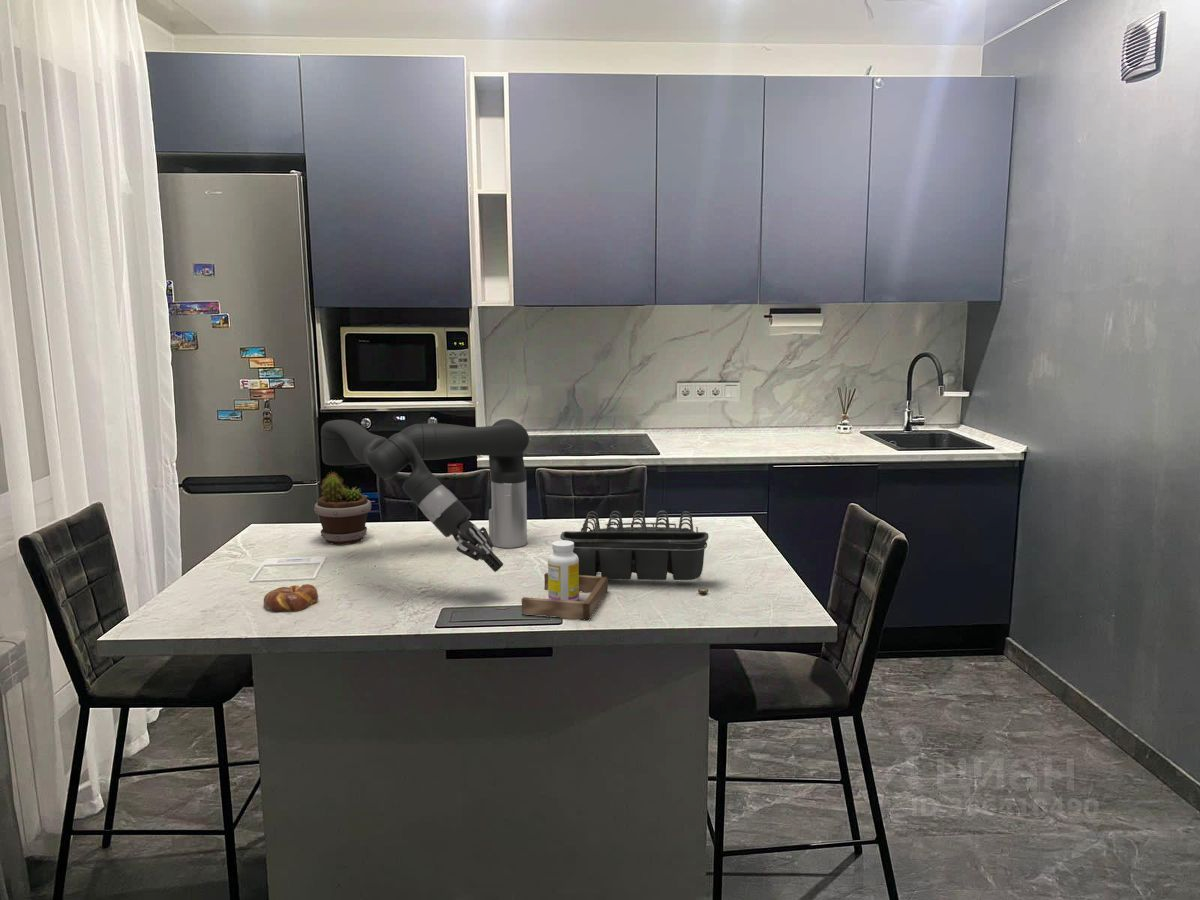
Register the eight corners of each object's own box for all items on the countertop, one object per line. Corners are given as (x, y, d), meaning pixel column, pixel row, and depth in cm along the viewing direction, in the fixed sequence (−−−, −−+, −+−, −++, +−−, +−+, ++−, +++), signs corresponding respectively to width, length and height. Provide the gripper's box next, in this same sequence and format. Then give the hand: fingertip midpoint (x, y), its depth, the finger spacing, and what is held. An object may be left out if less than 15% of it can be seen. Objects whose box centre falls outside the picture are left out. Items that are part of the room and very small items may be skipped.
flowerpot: (347, 530, 251) (344, 460, 248) (384, 539, 242) (381, 466, 239) (304, 541, 240) (300, 468, 236) (340, 550, 231) (337, 475, 227)
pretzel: (297, 593, 199) (296, 577, 198) (331, 601, 193) (331, 585, 192) (251, 607, 188) (250, 591, 188) (286, 617, 183) (285, 599, 182)
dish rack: (557, 587, 203) (557, 535, 201) (580, 536, 246) (580, 494, 244) (707, 592, 199) (709, 539, 198) (704, 540, 243) (705, 496, 241)
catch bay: (521, 615, 184) (521, 598, 183) (546, 587, 201) (545, 572, 201) (588, 620, 181) (588, 604, 180) (607, 592, 198) (607, 576, 198)
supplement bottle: (578, 595, 196) (578, 538, 194) (579, 605, 190) (579, 547, 188) (548, 595, 196) (548, 538, 194) (547, 605, 190) (547, 547, 187)
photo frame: (326, 555, 224) (314, 577, 207) (326, 559, 224) (315, 581, 207) (265, 557, 222) (249, 579, 204) (266, 562, 222) (249, 584, 205)
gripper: (445, 514, 200) (498, 570, 200) (421, 529, 188) (477, 589, 187) (466, 492, 198) (520, 549, 198) (443, 506, 186) (500, 566, 185)
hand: (499, 568), depth 192 cm, fingers closed
